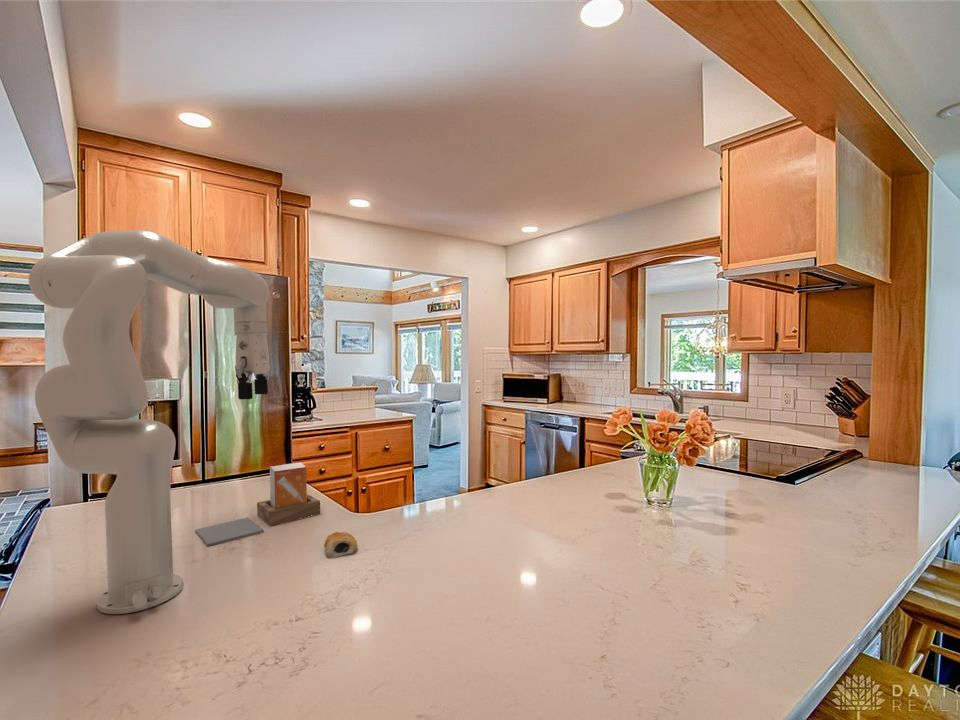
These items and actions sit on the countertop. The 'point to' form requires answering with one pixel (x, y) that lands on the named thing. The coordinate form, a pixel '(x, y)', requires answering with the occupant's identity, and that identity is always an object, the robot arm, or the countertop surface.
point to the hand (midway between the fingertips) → (253, 396)
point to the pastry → (340, 544)
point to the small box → (288, 485)
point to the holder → (287, 511)
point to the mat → (228, 531)
